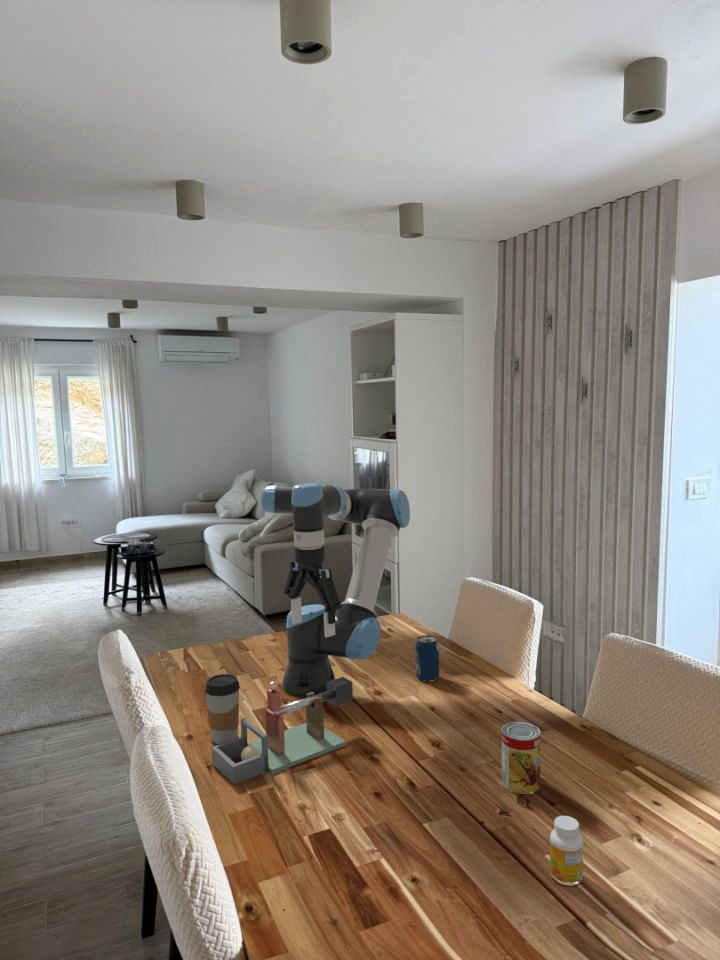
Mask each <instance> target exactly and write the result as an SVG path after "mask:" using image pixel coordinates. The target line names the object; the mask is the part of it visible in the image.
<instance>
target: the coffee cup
mask: <svg viewBox="0 0 720 960" xmlns="http://www.w3.org/2000/svg"><path fill="white" fill-rule="evenodd" d="M240 686H241V685H240V681H239V680H238V677H237V676H236V675H234V674H232V673H231V674H229V673H224V674H223V673H222V674H217V675H213V676H211V677H209V678H208V679H207V680H206V684H205V686H204V687H205V688H204V693H205V694H206V695H205V696H206V706H207V708H206V709H207V714H208V716H207V717H208V723H209V728H210V729H209V730H210V737H211V740H212V742H213V743H214V744H216V745H219V744H222V743H225V742H228V741H231V740H234V739H237V738H238V736H239V724H240V723H239V720H240V719H239V718H240V714H239V713H240V702H239V701H240V700H239V699H240V696H239V695H240V693H239V692H240V688H241V687H240Z"/></svg>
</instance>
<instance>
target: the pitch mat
mask: <svg viewBox="0 0 720 960" xmlns="http://www.w3.org/2000/svg"><path fill="white" fill-rule="evenodd" d="M284 740H285V753H284V754H281V755H279V754H278V753H277V752H275V751H274V750H273V749H272V748H270V747H269V746H268V763H269V771H268V772H269V773H270V774H271V775H273V774H276V773H278V772H279V773H280V772H281V771H283V770H287V769H289V768H292V767H294V766H297V765H300V764H302V763H305V762H307V761H308V760H312V759H314V758H317V757H319V756H322V755H324V754H327V753H329V752H332V751H335V750H338V749H340V748H343V747H344V746H346V745H347V742H346V740H344V739H343V738H341V737H340V736H339V735H336V734H335V732H332V731H331V730H329V729H328V728H326V727H325V726H324V739H321V740H317V739H315V738H314V737H312V736H311V735H309V734H308V733H307V722H304V723H302V724H300V725H297V726H293V727H291V728H288V729H284ZM247 744H248V746H253V747H255V748H256V749H257V750H258V753H259V755H260V754H262V742H261V738H260V739H256V740H254V741H251V742H247Z"/></svg>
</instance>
